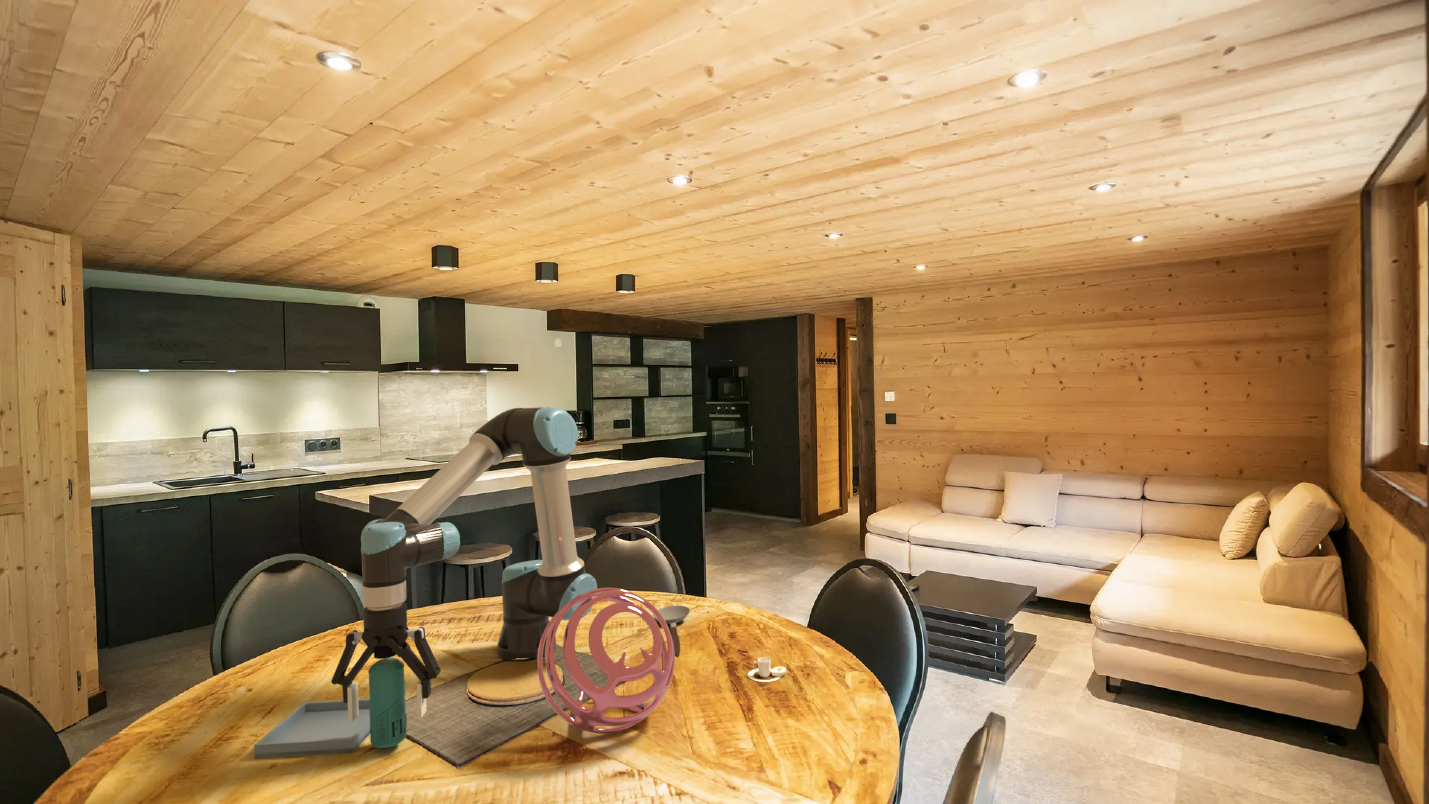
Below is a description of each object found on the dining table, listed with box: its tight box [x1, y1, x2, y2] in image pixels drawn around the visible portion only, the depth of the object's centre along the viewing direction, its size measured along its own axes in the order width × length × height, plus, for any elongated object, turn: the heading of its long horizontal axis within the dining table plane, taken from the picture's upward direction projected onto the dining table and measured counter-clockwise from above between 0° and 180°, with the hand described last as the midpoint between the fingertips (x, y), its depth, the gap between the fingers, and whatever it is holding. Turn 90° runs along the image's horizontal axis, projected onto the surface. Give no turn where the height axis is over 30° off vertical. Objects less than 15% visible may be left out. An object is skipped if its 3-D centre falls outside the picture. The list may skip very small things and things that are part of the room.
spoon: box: [652, 605, 691, 657], centre depth 189 cm, size 11×33×3 cm, turn 6°
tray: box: [253, 698, 371, 759], centre depth 137 cm, size 18×18×2 cm
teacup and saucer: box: [747, 656, 787, 683], centre depth 160 cm, size 9×8×4 cm
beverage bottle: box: [367, 646, 408, 749], centre depth 130 cm, size 6×7×20 cm
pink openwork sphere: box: [536, 587, 676, 735], centre depth 140 cm, size 28×28×27 cm
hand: (387, 716), depth 130 cm, fingers open, 12 cm apart
